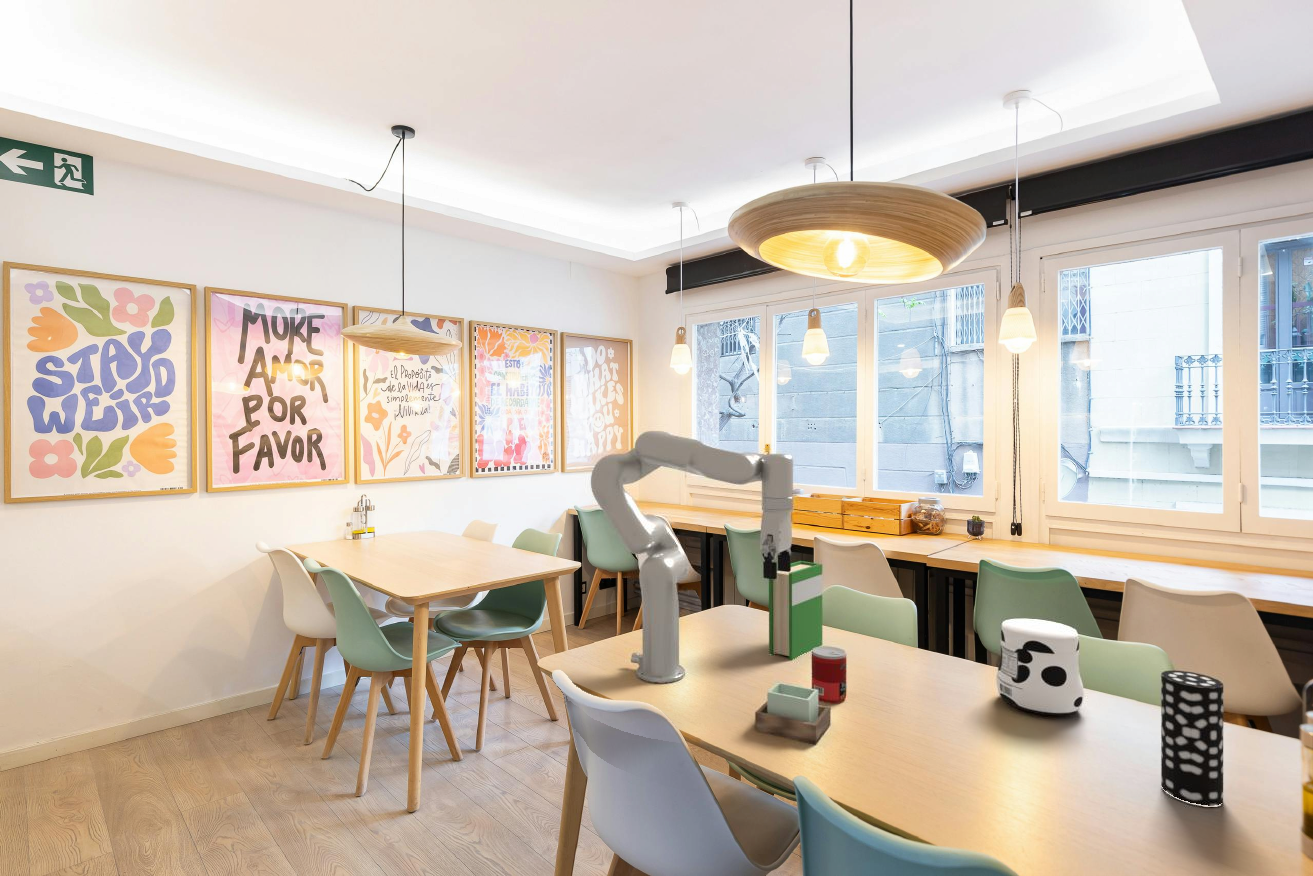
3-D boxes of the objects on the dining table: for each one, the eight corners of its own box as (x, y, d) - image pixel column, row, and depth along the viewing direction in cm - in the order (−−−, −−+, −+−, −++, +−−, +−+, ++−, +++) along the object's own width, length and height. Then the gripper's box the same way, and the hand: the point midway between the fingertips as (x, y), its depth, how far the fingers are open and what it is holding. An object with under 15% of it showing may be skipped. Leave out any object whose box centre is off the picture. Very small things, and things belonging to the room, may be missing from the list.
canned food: (847, 705, 153) (847, 657, 153) (812, 702, 154) (812, 655, 154) (845, 692, 160) (845, 647, 160) (811, 690, 162) (811, 645, 162)
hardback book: (792, 660, 183) (791, 573, 183) (769, 654, 188) (768, 570, 188) (822, 645, 196) (822, 564, 196) (800, 639, 201) (799, 561, 201)
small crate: (767, 725, 140) (767, 692, 140) (778, 713, 146) (778, 682, 146) (809, 734, 136) (808, 700, 136) (818, 722, 141) (818, 690, 141)
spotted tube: (1149, 783, 118) (1149, 671, 118) (1192, 781, 119) (1192, 669, 119) (1190, 809, 110) (1190, 689, 110) (1236, 807, 110) (1236, 687, 110)
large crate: (755, 730, 140) (755, 712, 140) (772, 712, 149) (772, 695, 149) (815, 744, 133) (815, 726, 133) (830, 725, 142) (830, 707, 142)
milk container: (1091, 705, 152) (1091, 626, 152) (1074, 729, 140) (1074, 644, 139) (1008, 685, 164) (1008, 613, 164) (986, 707, 151) (986, 628, 151)
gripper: (775, 500, 170) (775, 567, 171) (749, 507, 156) (749, 579, 156) (803, 502, 167) (803, 570, 167) (779, 508, 152) (779, 583, 152)
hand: (777, 574), depth 161 cm, fingers open, 9 cm apart
